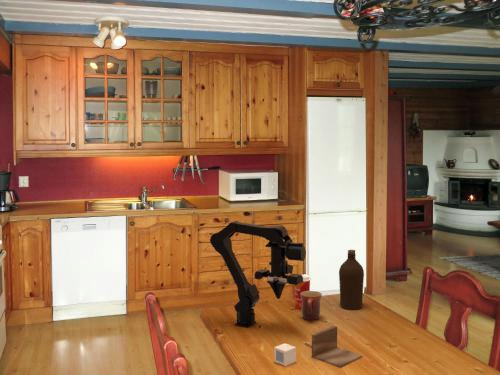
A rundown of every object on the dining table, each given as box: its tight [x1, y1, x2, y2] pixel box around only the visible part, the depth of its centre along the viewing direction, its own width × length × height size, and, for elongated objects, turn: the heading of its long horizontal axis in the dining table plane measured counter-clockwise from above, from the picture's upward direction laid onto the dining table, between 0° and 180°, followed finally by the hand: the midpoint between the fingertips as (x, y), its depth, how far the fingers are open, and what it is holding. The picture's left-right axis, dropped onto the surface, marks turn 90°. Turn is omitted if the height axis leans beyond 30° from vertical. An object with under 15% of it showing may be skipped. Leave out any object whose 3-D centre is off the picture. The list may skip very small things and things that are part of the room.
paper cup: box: [293, 273, 312, 311], centre depth 235 cm, size 8×8×14 cm
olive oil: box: [338, 249, 365, 311], centre depth 235 cm, size 11×11×25 cm
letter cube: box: [273, 342, 297, 367], centre depth 179 cm, size 5×5×5 cm
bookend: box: [311, 325, 363, 369], centre depth 182 cm, size 12×12×8 cm
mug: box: [300, 290, 323, 321], centre depth 220 cm, size 12×9×10 cm
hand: (278, 298), depth 209 cm, fingers closed
